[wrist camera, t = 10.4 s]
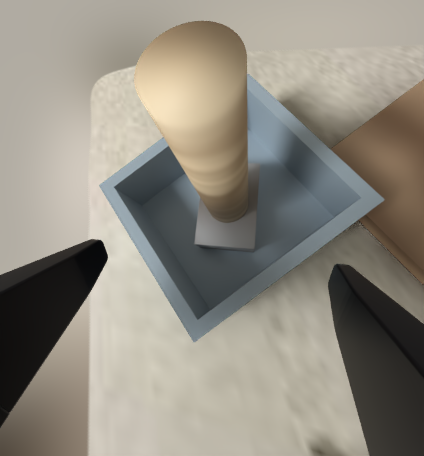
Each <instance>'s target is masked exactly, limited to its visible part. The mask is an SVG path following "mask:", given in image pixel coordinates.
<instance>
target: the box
mask: <svg viewBox="0 0 424 456" xmlns="http://www.w3.org/2000/svg"><path fill="white" fill-rule="evenodd" d="M247 120H248V163H260V174H259V189H258V204H257V219H256V234H255V249H254V252H243V251H231V250H220V249H208V248H200V247H198V246H197V245H195V244H194V242H195V233H196V225H197V217H198V209H199V201H200V196H199V194H198V193H197V191H196V189H195V188H194V186H193V185H192V183H191V181H190V180H189V178H188V176H187V175H186V173H185V171H184V170H183V168H182V166H181V165H180V163H179V162H178V160H177V158H176V157H175V155H174V153H173V152H172V150H171V148H170V147H169V145H168V144H167V142H166V140H165V139H164V137H163V138H162V139H160V140H159V141H158V142H156V143H155V144H154V145H152V146H151V147H150V148H148V149H147V150H146V151H144V152H143V153H142V154H140V155H139V156H138V157H136V158H135V159H134V160H132V161H131V162H130V163H128V164H127V165H126V166H124V167H123V168H122V169H120V170H119V171H118V172H116V173H115V174H114V175H112V176H111V177H110V178H108V179H107V180H106V181H104V182H103V183H102V184H100V185H99V186H100V188H101V190H102V191H103V193H104V195H105V196H106V198H107V200H108V201H109V203H110V205H111V206H112V208H113V209H114V211H115V213H116V214H117V216H118V218H119V219H120V221H121V223H122V224H123V226H124V228H125V229H126V231H127V233H128V234H129V236H130V238H131V239H132V241H133V243H134V244H135V246H136V248H137V249H138V251H139V253H140V254H141V256H142V258H143V259H144V261H145V262H146V264H147V266H148V267H149V269H150V271H151V272H152V274H153V276H154V277H155V279H156V281H157V282H158V284H159V286H160V287H161V289H162V291H163V292H164V294H165V296H166V297H167V299H168V301H169V302H170V304H171V306H172V307H173V309H174V311H175V312H176V314H177V316H178V317H179V319H180V320H181V322H182V324H183V325H184V327H185V329H186V330H187V332H188V334H189V335H190V337H191V339H192V340H193V342H195V341H197V340H198V339H199V338H201V337H202V336H203V335H205V334H206V333H207V332H209V331H210V330H211V329H213V328H214V327H215V326H217V325H218V324H219V323H221V322H222V321H224V320H225V319H226V318H228V317H229V316H230V315H232V314H233V313H234V312H236V311H237V310H238V309H240V308H241V307H242V306H244V305H245V304H246V303H248V302H249V301H250V300H252V299H253V298H254V297H256V296H257V295H258V294H260V293H261V292H262V291H264V290H265V289H266V288H268V287H269V286H270V285H272V284H273V283H274V282H276V281H277V280H278V279H280V278H281V277H282V276H284V275H285V274H286V273H288V272H289V271H290V270H292V269H293V268H294V267H296V266H297V265H298V264H300V263H301V262H302V261H304V260H305V259H306V258H308V257H309V256H310V255H312V254H313V253H314V252H316V251H317V250H318V249H320V248H321V247H322V246H324V245H325V244H327V243H328V242H329V241H331V240H332V239H333V238H335V237H336V236H337V235H339V234H340V233H341V232H343V231H344V230H345V229H347V228H348V227H349V226H351V225H352V224H353V223H355V222H356V221H357V220H359V219H360V218H361V217H363V216H364V215H365V214H367V213H368V212H369V211H371V210H372V209H373V208H375V207H376V206H377V205H379V204H380V203H381V202H383V201H384V200H385V199H384V198H382V197H381V196H380V195H379V194H378V193H377V192H376V191H375V190H374V189H373V188H372V187H371V186H369V185H368V184H367V183H366V182H365V181H364V180H363V179H362V178H361V177H360V176H359V175H358V174H356V173H355V172H354V171H353V170H352V169H351V168H350V167H349V166H348V165H347V164H346V163H345V162H343V161H342V160H341V159H340V158H339V157H338V156H337V155H336V154H335V153H334V152H333V151H332V150H330V149H329V148H328V147H327V146H326V145H325V144H324V143H323V142H322V141H321V140H320V139H319V138H317V137H316V136H315V135H314V134H313V133H312V132H311V131H310V130H309V129H308V128H307V127H306V126H304V125H303V124H302V123H301V122H300V121H299V120H298V119H297V118H296V117H295V116H294V115H293V114H291V113H290V112H289V111H288V110H287V109H286V108H285V107H284V106H283V105H282V104H281V103H280V102H279V101H277V100H276V99H275V98H274V97H273V96H272V95H271V94H270V93H269V92H268V91H267V90H266V89H264V88H263V87H262V86H261V85H260V84H259V83H258V82H257V81H256V80H255V79H254V78H253V77H251V76H250V75H249V74H247Z"/></svg>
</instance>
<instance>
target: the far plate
mask: <svg viewBox="0 0 424 456" xmlns="http://www.w3.org/2000/svg"><path fill="white" fill-rule="evenodd" d="M330 150H332V151H333V152H334V153H335V154H336V155H337V156H338V157H339V158H340V159H341V160H342V161H343V162H345V163H346V164H347V165H348V166H349V167H350V168H351V169H352V170H353V171H354V172H355V173H356V174H358V175H359V176H360V177H361V178H362V179H363V180H364V181H365V182H366V183H367V184H368V185H369V186H371V187H372V188H373V189H374V190H375V191H376V192H377V193H378V194H379V195H380V196H381V197H382V198H384V199H385V200H384V201H383V202H381V203H380V204H379V205H377V206H376V207H375V208H373V209H372V210H371V211H369V212H368V213H367V214H365V215H364V216H363V217H361V218H360V219H359V221H360V222H361V223H362V224H363V225H364V226H365V227H366V228H367V229H368V230H369V231H370V232H371V233H372V234H373V235H374V236H375V237H376V238H377V239H378V240H379V241H380V242H381V243H382V244H383V245H384V246H385V247H386V248H387V249H388V250H389V251H390V252H391V253H392V254H393V255H394V256H395V257H396V258H397V259H398V260H399V261H400V262H401V263H402V264H403V265H404V266H405V267H406V268H407V269H408V270H409V271H410V272H411V273H412V274H413V275H414V276H415V277H416V278H417V279H418V280H419V281H420V282H421V283H422V284H423V285H424V80H422V81H421V82H419V83H418V84H417V85H415V86H414V87H413V88H411V89H410V90H409V91H407V92H406V93H405V94H403V95H402V96H401V97H399V98H398V99H397V100H395V101H394V102H393V103H391V104H390V105H389V106H387V107H386V108H385V109H383V110H382V111H381V112H379V113H378V114H377V115H375V116H374V117H373V118H371V119H370V120H369V121H367V122H366V123H365V124H363V125H362V126H361V127H359V128H358V129H357V130H355V131H354V132H353V133H351V134H350V135H349V136H347V137H346V138H345V139H343V140H342V141H341V142H339V143H338V144H337V145H335V146H334V147H333V148H331V149H330Z"/></svg>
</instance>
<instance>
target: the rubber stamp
mask: <svg viewBox="0 0 424 456" xmlns="http://www.w3.org/2000/svg"><path fill="white" fill-rule="evenodd" d="M134 83H135V88H136V91H137V94H138V96H139V98H140V99H141V101H142V103H143V104H144V106H145V107H146V109H147V111H148V112H149V114H150V116H151V117H152V119H153V121H154V122H155V124H156V125H157V127H158V129H159V130H160V132H161V134H162V135H163V137H164V139H165V140H166V142H167V144H168V145H169V147H170V148H171V150H172V152H173V153H174V155H175V157H176V158H177V160H178V162H179V163H180V165H181V166H182V168H183V170H184V171H185V173H186V175H187V176H188V178H189V180H190V181H191V183H192V185H193V186H194V188H195V189H196V191H197V193H198V194H199V196H200V201H199V209H198V217H197V225H196V233H195V242H194V244H195V245H197V246H198V247H200V248H208V249H220V250H231V251H243V252H254V249H255V234H256V219H257V204H258V189H259V174H260V163H248V120H247V54H246V49H245V46H244V43H243V42H242V40H241V38H240V37H239V36H238V34H237V33H235V32H234V31H233V30H232V29H230V28H229V27H227V26H225V25H223V24H219V23H216V22H211V21H194V22H188V23H185V24H181V25H178V26H176V27H173V28H171V29H169V30H167V31H165V32H164V33H162V34H161V35H159V36H158V37H157V38H156V39H154V40H153V41H152V42H151V43H150V44H149V45H148V47H147V48H146V49H145V50H144V52H143V53H142V55H141V57H140V58H139V61H138V63H137V66H136V69H135V75H134Z"/></svg>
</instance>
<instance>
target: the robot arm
mask: <svg viewBox="0 0 424 456" xmlns="http://www.w3.org/2000/svg"><path fill="white" fill-rule="evenodd" d="M107 260H108V254H107V252H106V249H105V246H104V244H103V242H102V241H101V240H96V239H91V240H88V241H85V242H83V243H81V244H78V245H75V246H73V247H70V248H68V249H65V250H63V251H60V252H57V253H55V254H52V255H50V256H48V257H45V258H42V259H40V260H37V261H35V262H32V263H30V264H27V265H25V266H22V267H19V268H17V269H14V270H12V271H10V272H7V273H4V274H2V275H0V428H1V426H2V425H3V423H4V422H5V420H6V419H7V417H8V415H9V414H10V413H9V412H11V411H12V409H13V408H14V406H15V405H16V403H17V402H18V400H19V399H20V397H21V396H22V394H23V393H24V391H25V390H26V388H27V387H28V385H29V384H30V382H31V381H32V379H33V378H34V376H35V375H36V373H37V372H38V370H39V369H40V367H41V366H42V364H43V363H44V361H45V359H46V358H47V357H48V355H49V353H50V352H51V351H52V349H53V347H54V346H55V344H56V343H57V342H58V340H59V338H60V337H61V336H62V334H63V333H64V331H65V330H66V328H67V326H68V325H69V324H70V322H71V321H72V319H73V317H74V316H75V314H76V313H77V312H78V310H79V309H80V307H81V305H82V304H83V302H84V301H85V299H86V298H87V296H88V295H89V293H90V292H91V290H92V288H93V286H94V284H95V283H96V281H97V279H98V277H99V275H100V273H101V271H102V270H103V268H104V266H105V264H106V262H107ZM328 289H329V295H330V302H331V308H332V315H333V321H334V327H335V332H336V336H337V340H338V343H339V347H340V350H341V354H342V358H343V361H344V365H345V369H346V372H347V376H348V379H349V383H350V387H351V390H352V394H353V397H354V401H355V405H356V408H357V412H358V416H359V419H360V423H361V426H362V430H363V434H364V437H365V441H366V444H367V448H368V452H369V455H370V456H424V324H423V323H422V322H420V321H419V320H418V319H417V318H415V317H414V316H413V315H411V314H410V313H409V312H408V311H406V310H405V309H404V308H403V307H401V306H400V305H399V304H398V303H396V302H395V301H394V300H393V299H391V298H390V297H389V296H388V295H386V294H385V293H384V292H383V291H381V290H380V289H379V288H377V287H376V286H375V285H374V284H372V283H371V282H370V281H369V280H367V279H366V278H365V277H364V276H362V275H361V274H360V273H359V272H357V271H356V270H355V269H354V268H352V267H351V266H349V265H344V264H336V265H335V266H334V267H333V270H332V273H331V276H330V279H329V283H328Z"/></svg>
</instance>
